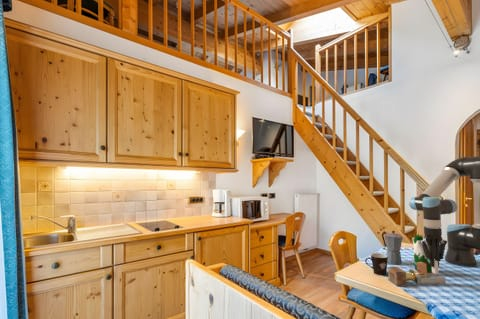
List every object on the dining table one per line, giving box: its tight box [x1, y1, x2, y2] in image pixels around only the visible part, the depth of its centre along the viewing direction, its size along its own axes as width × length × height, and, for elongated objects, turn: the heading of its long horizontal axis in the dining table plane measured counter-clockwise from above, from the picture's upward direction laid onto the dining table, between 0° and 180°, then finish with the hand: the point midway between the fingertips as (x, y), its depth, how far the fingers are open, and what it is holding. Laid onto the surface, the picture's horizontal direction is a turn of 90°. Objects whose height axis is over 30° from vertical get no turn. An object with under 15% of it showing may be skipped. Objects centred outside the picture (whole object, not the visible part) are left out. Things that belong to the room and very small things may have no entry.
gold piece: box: [406, 262, 427, 282], centre depth 141 cm, size 16×4×9 cm, turn 90°
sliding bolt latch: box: [408, 268, 447, 286], centre depth 141 cm, size 14×7×6 cm, turn 90°
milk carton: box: [412, 234, 433, 273], centre depth 155 cm, size 9×9×20 cm
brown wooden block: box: [387, 266, 408, 287], centre depth 141 cm, size 5×7×7 cm
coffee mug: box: [364, 252, 388, 276], centre depth 155 cm, size 12×9×10 cm
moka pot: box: [381, 230, 404, 266], centre depth 171 cm, size 10×15×20 cm, turn 24°
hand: (435, 272), depth 141 cm, fingers closed
